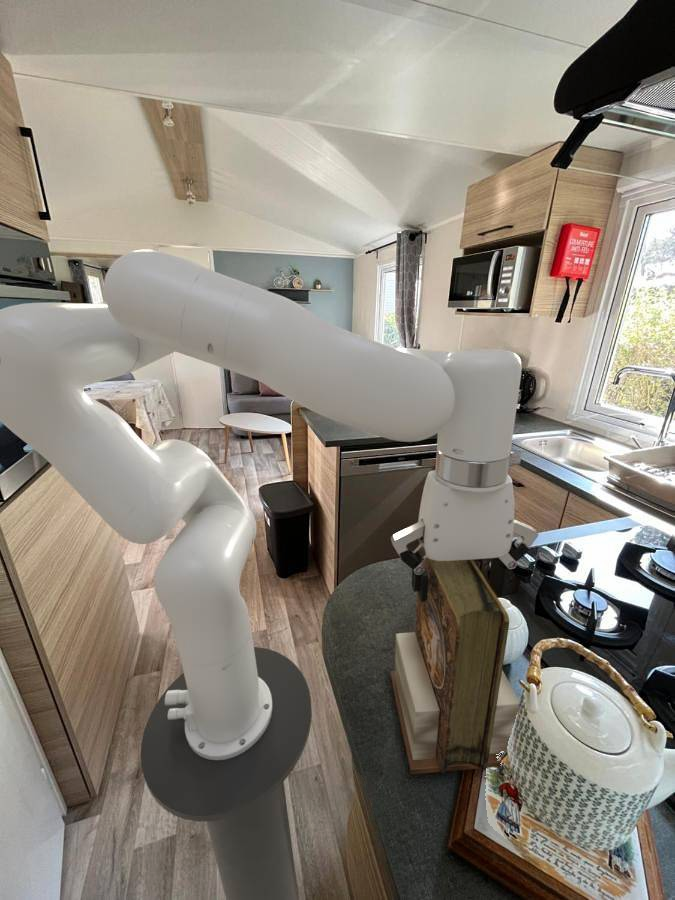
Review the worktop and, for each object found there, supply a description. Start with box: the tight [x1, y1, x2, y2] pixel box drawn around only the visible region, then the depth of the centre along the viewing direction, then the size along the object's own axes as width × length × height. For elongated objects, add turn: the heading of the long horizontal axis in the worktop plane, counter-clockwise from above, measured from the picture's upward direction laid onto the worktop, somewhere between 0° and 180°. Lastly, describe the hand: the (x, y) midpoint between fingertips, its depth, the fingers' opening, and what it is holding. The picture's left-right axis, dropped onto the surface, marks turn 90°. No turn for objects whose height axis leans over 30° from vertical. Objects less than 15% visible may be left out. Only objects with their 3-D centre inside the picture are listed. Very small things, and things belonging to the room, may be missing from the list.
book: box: [414, 541, 510, 775], centre depth 51 cm, size 16×6×25 cm, turn 3°
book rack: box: [389, 631, 520, 775], centre depth 54 cm, size 14×14×10 cm
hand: (458, 591), depth 48 cm, fingers open, 9 cm apart
